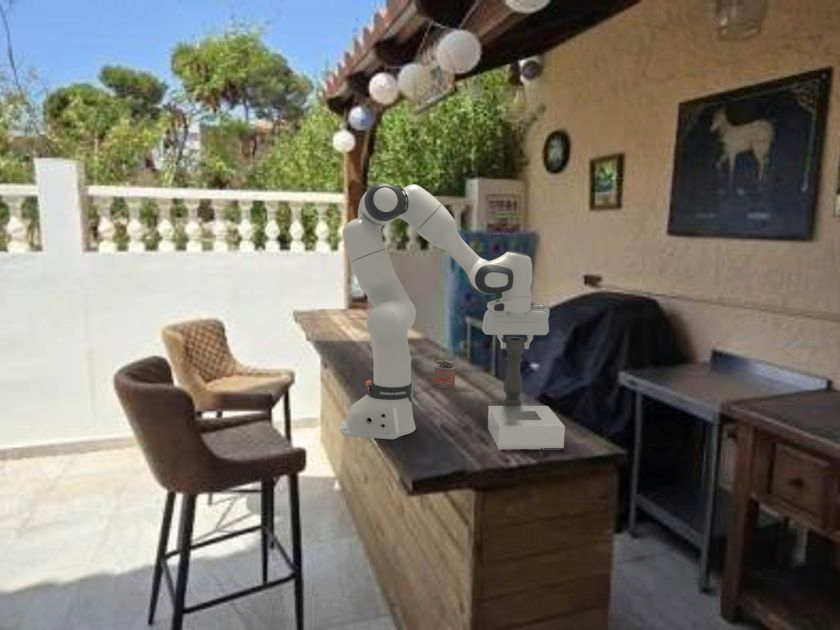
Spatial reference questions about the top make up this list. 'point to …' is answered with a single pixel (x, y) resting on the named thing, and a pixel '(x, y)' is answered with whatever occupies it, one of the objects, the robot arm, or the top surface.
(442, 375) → the lighter
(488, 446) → the top surface
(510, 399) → the candle holder
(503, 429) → the sleeve block
